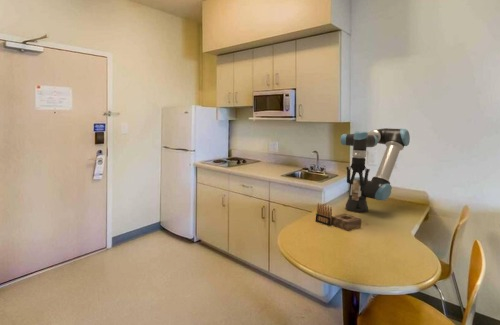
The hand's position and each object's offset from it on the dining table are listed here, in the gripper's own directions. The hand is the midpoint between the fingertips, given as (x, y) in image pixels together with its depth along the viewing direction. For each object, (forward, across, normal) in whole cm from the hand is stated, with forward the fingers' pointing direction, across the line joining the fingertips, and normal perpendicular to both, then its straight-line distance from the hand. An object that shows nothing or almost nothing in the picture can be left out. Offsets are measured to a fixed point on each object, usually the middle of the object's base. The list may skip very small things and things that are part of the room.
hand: (355, 195), depth 173 cm
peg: (+3, 0, 0) cm, 3 cm away
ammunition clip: (+18, -13, -14) cm, 26 cm away
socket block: (+17, -1, -9) cm, 19 cm away
